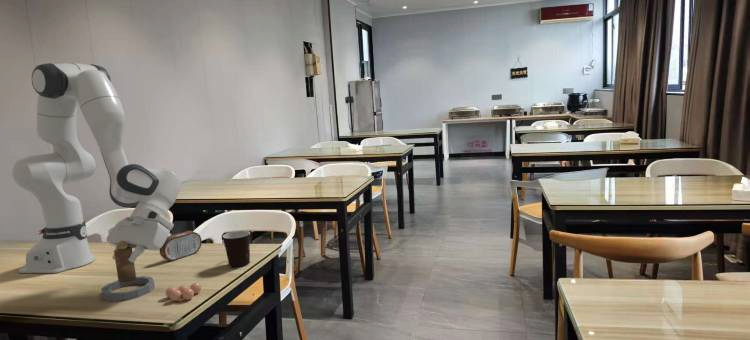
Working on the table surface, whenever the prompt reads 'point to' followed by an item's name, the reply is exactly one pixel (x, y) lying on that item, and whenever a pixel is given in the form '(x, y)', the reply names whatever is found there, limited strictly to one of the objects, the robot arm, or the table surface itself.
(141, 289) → the ring
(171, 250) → the tin
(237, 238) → the coffee mug
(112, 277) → the table surface
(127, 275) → the pepper mill
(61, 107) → the robot arm
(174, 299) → the bead pile
